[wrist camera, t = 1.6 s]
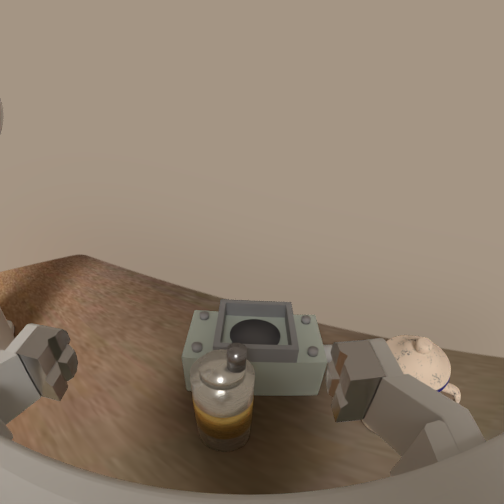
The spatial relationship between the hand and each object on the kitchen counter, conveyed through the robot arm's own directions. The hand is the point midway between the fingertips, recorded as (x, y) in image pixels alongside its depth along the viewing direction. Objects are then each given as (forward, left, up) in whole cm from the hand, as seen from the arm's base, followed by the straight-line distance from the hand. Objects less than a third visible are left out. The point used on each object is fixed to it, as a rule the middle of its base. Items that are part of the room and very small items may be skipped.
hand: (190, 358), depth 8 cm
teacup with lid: (+21, +13, -24) cm, 34 cm away
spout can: (0, +12, -23) cm, 26 cm away
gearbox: (+5, +22, -23) cm, 32 cm away
